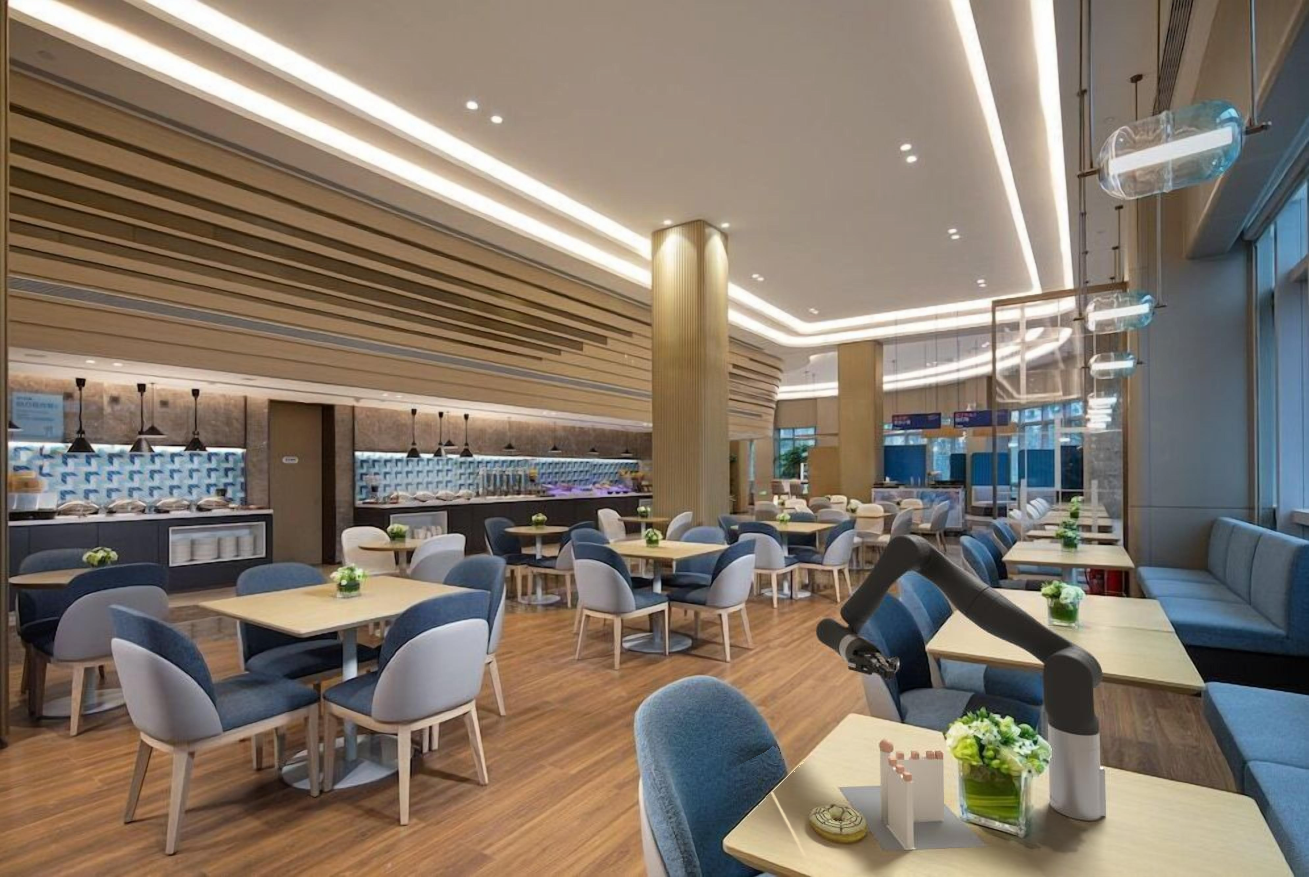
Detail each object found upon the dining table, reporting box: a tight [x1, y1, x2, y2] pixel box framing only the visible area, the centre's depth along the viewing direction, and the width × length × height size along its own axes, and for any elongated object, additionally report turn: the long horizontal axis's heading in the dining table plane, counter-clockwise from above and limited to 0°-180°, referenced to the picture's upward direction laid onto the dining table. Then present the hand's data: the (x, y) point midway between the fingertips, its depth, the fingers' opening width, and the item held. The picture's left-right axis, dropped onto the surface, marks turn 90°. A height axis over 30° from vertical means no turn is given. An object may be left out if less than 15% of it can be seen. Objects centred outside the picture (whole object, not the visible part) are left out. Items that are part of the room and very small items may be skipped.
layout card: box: [838, 784, 987, 852], centre depth 134 cm, size 20×24×1 cm
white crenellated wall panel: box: [893, 750, 945, 820], centre depth 132 cm, size 10×1×13 cm, turn 91°
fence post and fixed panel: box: [878, 738, 914, 848], centre depth 128 cm, size 3×11×16 cm, turn 5°
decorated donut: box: [809, 803, 868, 844], centre depth 129 cm, size 10×11×4 cm
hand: (890, 675), depth 144 cm, fingers closed
